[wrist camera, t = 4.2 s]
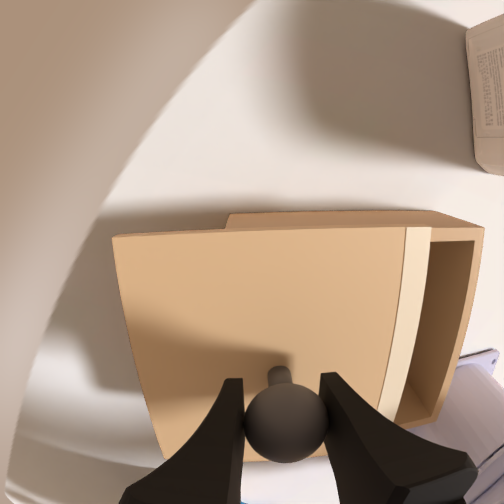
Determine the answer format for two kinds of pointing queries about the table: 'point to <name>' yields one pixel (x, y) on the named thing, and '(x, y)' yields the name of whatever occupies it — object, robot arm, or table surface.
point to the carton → (434, 300)
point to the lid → (271, 324)
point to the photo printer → (487, 92)
